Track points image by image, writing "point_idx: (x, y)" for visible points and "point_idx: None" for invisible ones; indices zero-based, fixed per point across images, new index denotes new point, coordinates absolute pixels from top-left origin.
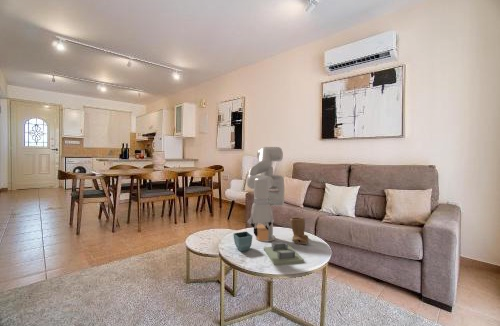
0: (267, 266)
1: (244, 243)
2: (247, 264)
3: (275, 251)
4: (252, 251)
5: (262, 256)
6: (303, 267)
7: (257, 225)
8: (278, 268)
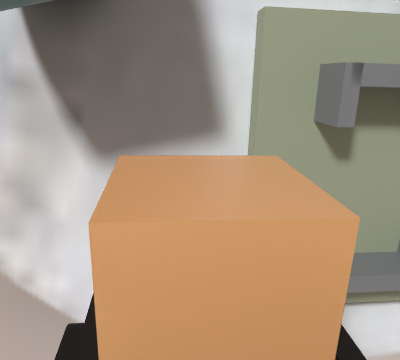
0: None
1: (27, 2)
2: (56, 260)
3: (328, 132)
4: (141, 21)
5: (202, 150)
6: (388, 341)
7: (178, 263)
8: None
